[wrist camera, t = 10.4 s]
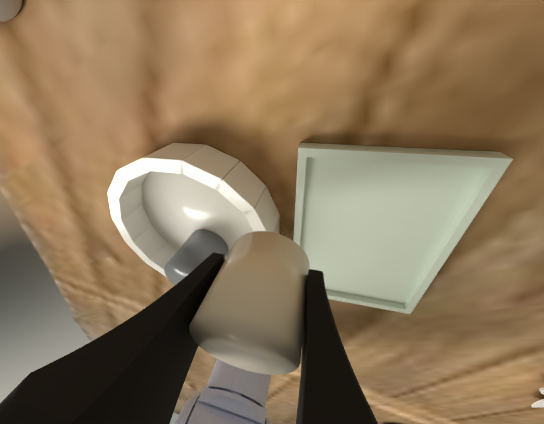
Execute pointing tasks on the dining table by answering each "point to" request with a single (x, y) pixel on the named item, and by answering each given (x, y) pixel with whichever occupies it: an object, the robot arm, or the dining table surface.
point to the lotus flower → (539, 403)
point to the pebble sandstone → (256, 305)
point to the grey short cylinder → (194, 254)
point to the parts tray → (387, 215)
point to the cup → (9, 9)
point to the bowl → (187, 200)
